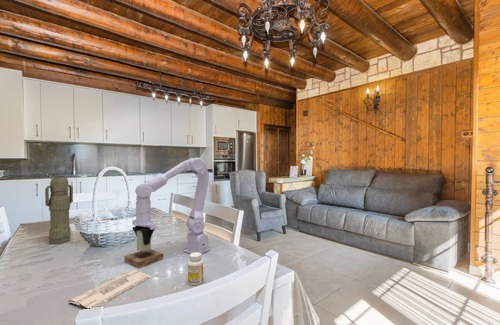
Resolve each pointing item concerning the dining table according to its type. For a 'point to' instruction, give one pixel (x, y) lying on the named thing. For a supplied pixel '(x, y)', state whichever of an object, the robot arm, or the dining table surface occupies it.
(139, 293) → the dining table surface
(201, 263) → the supplement bottle
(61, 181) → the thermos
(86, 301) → the newspaper
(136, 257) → the socket block
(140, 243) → the peg
